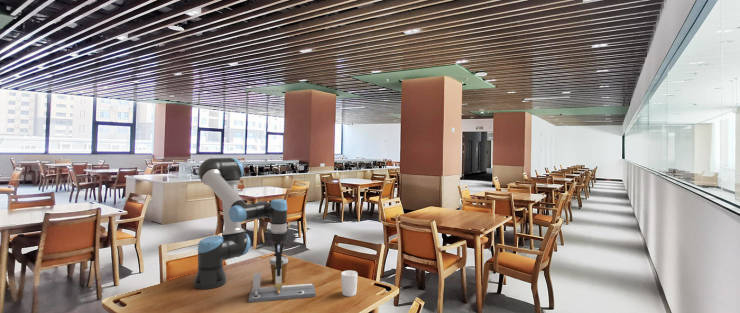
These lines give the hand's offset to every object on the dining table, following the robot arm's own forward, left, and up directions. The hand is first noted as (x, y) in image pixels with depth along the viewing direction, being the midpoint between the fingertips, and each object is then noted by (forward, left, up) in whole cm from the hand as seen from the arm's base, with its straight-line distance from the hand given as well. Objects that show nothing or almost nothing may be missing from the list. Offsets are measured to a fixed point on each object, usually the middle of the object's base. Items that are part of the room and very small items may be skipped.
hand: (278, 279), depth 172 cm
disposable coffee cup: (0, +16, -7) cm, 17 cm away
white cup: (+33, -8, -7) cm, 35 cm away
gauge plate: (+2, -2, -7) cm, 7 cm away
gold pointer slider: (0, -2, -4) cm, 5 cm away
